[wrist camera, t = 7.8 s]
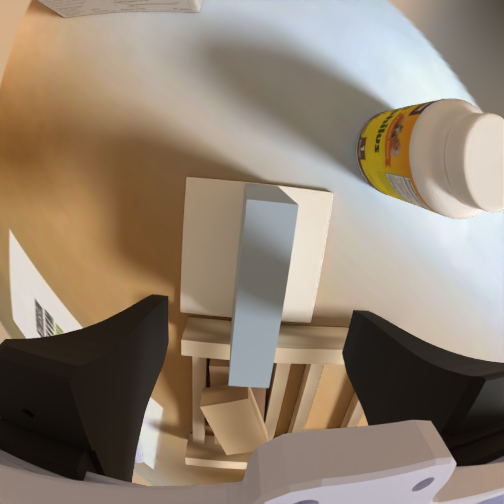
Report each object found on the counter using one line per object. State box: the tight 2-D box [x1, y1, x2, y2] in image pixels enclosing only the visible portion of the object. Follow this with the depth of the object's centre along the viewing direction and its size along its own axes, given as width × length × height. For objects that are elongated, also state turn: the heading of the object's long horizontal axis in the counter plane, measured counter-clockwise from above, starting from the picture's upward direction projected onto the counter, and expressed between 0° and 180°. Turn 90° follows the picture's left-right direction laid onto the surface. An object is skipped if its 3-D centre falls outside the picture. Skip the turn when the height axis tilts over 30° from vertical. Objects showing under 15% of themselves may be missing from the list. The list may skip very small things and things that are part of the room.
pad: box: [180, 177, 334, 323], centre depth 20 cm, size 9×9×1 cm
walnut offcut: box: [209, 358, 266, 444], centre depth 23 cm, size 4×9×2 cm, turn 178°
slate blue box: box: [228, 183, 299, 388], centre depth 17 cm, size 2×9×7 cm, turn 174°
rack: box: [181, 317, 364, 469], centre depth 23 cm, size 16×14×3 cm
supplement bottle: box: [356, 99, 504, 219], centre depth 14 cm, size 6×6×10 cm
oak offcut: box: [200, 384, 268, 455], centre depth 21 cm, size 3×6×2 cm, turn 15°
